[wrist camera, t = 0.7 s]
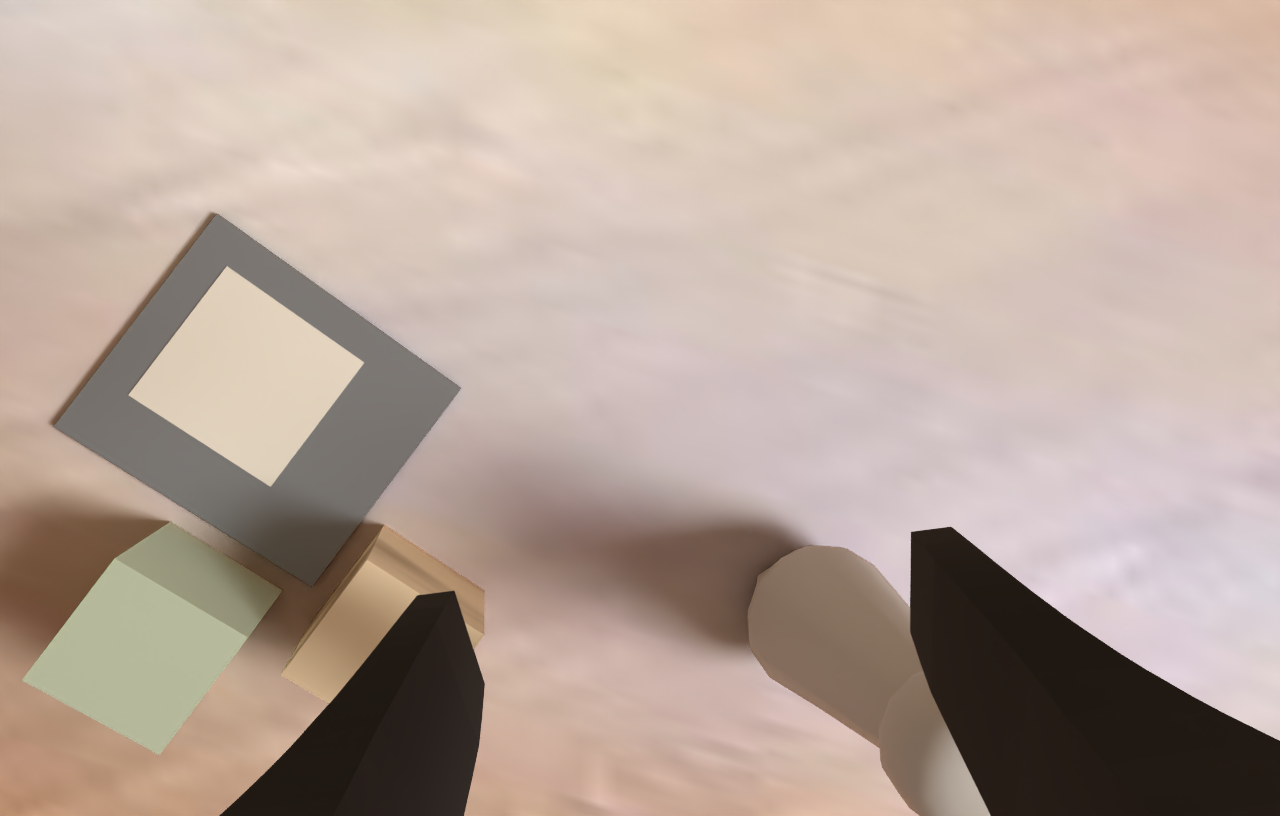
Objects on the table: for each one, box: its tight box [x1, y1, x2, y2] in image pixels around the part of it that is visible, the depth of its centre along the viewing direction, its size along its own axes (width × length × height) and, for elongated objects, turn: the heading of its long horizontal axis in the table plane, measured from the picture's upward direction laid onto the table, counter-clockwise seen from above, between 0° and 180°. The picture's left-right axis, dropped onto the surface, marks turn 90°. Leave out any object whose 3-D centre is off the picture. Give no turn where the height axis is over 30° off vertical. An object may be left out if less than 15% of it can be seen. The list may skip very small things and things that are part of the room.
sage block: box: [22, 522, 283, 755], centre depth 27 cm, size 4×4×4 cm
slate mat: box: [54, 214, 461, 587], centre depth 28 cm, size 9×10×1 cm
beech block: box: [281, 525, 484, 704], centre depth 28 cm, size 4×4×4 cm
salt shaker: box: [747, 545, 991, 816], centre depth 27 cm, size 6×6×13 cm
